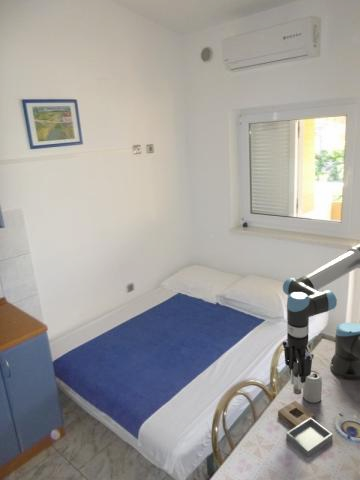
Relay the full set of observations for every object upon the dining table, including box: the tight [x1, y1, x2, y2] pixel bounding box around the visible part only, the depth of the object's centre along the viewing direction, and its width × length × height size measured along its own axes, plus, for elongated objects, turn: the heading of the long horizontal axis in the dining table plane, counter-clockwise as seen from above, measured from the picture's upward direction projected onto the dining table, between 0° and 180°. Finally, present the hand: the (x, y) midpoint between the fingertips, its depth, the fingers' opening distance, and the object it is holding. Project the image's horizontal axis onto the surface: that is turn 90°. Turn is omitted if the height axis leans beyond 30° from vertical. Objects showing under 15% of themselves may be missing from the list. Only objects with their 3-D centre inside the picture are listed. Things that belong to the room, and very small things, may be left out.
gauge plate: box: [277, 400, 316, 429], centre depth 150 cm, size 10×10×2 cm
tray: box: [285, 417, 334, 458], centre depth 139 cm, size 13×10×3 cm
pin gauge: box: [292, 359, 302, 395], centre depth 144 cm, size 3×3×14 cm
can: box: [302, 369, 323, 404], centre depth 158 cm, size 8×8×12 cm
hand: (297, 385), depth 146 cm, fingers closed on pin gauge, 3 cm apart
